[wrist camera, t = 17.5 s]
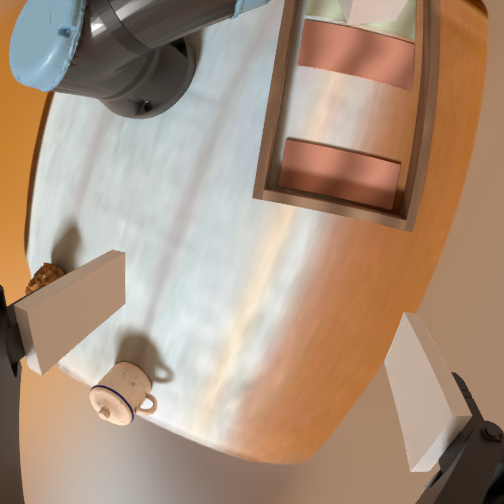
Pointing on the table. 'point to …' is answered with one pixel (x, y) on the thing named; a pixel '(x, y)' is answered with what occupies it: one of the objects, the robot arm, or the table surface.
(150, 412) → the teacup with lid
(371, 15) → the milk carton
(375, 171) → the box
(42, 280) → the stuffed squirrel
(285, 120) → the table surface
